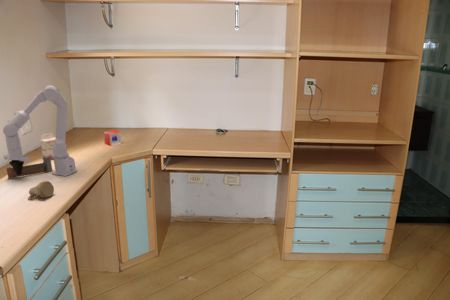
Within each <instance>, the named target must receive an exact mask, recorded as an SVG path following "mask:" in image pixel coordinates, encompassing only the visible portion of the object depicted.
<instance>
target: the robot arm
mask: <svg viewBox="0 0 450 300" xmlns="http://www.w3.org/2000/svg"><path fill="white" fill-rule="evenodd" d="M47 101H50V102H52V104H54V105H55V107H56V122H55V123H56V124H55V125H56V126H55V127H56V128H55V137H56V142H55V144H54V145H53V154H54V156H53V159H54V160H53V165H54V170H55V171H53V172H51V175H56V176H62V177H67V176H69V175H72V174H73V173H74V174H75V173H77V172H78V170H77V169H76V162H75V159H74V158H73V157H72V156H70V154H69V153H68V149H67V147H68V146H67V144H66V134H67V133H66V130H67V119H68V118H67V115H68V114H67V113H68V112H67V111H68V102H67V100H66V98H65V97H64V95H63V94H62V92H61V90H60V89H58V87H56V86H55V85H52V84H48V85H46V86H44V88H43V89H42V90H40V91H39V92H38V93H36V94H35V95H34V97H33V98H32V99H31V100H30V102H29V103H28V104H27V105H26V106H25V108H24V109H23V110H22V109H21V110H18V111H15V112H14V115H13V116H12V118H10V119H8V120H7V123H6V124H5V125H4V127H3V128H2V129H3V130H2V132H3V134H4V136H5V142H6V148H7V154H5V155H3V159H4V160H5V161H6V160H7V161H9V165H10V166H11V168H14V170H15V172H16V174H17V175H20V174H22V167H23V166H24V163H30V157H28V156H25V155H24V154H23V151H22V145H21V139H20V137H19V130H20V129H22V128H23V126H24V125H25V124H26V123H27V122H28V121H29V120H30V114H31V113H32V112H33V111H34V110H35V109H36V107H38V106H39V105H40V104H41V103H45V102H47Z"/></svg>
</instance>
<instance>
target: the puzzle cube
mask: <svg viewBox="0 0 450 300" xmlns="http://www.w3.org/2000/svg"><path fill="white" fill-rule="evenodd" d="M103 138H104V139H103V140H104V145H107V146H109V147H112V146H117V145H123V142H122V140H123V139H122V132H121V131H118V130H114V129H113V130H110V131H109V130H108V131H104V132H103Z"/></svg>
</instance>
